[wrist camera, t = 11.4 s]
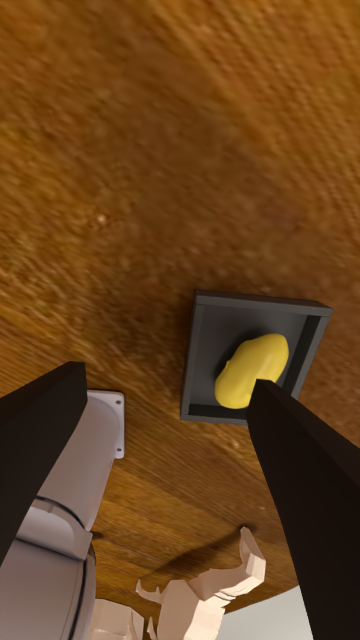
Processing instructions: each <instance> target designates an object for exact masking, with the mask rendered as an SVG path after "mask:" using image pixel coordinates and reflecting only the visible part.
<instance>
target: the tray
mask: <svg viewBox="0 0 360 640" xmlns="http://www.w3.org/2000/svg"><path fill="white" fill-rule="evenodd" d="M332 311H333V308H331V307H328V306H326V305H324V304H321V303H319V302H317V301H307V300H297V299H287V298H277V297H268V296H258V295H248V294H238V293H228V292H218V291H208V290H198V289H195V292H194V300H193V307H192V315H191V323H190V331H189V338H188V346H187V354H186V362H185V369H184V377H183V385H182V392H181V400H180V420H185V421H198V422H211V423H224V424H237V425H248V424H247V420H246V411H247V408H248V406H246V407H243V408H238V409H234V408H227V407H224V406H222V405H220V403H219V402H218V401H217V400H216V397H215V393H214V388H215V382H216V379H217V377H218V376H219V374H220V373H221V372H222V370H223V369H224V368H225V366H226V363H227V361H229V360H230V359H231V358H232V356H233V355H234V353H235V351H236V350H237V348H238V347H239V346H240V345H241V344H242V343H243V342H245V341H248V340H254V339H256V338H259V337H261V336H263V335H266V334H272V333H275V334H280V335H283V336H284V337H285V339H286V341H287V345H288V351H289V355H288V359H287V362H286V365H285V367H284V370H283V371H282V373H281V375H280V376H279V378H278V379H277V381H276V382H275V383H276V384H277V385H278V386H280V387H281V388H282V389H284V390H285V391H286V392H287V393H289V394H290V395H291V396H292V397H294V398H295V399H296V400H297V398H298V395H299V393H300V390H301V388H302V385H303V383H304V380H305V378H306V376H307V373H308V371H309V368H310V366H311V363H312V361H313V358H314V356H315V353H316V351H317V348H318V346H319V343H320V341H321V338H322V336H323V333H324V331H325V328H326V326H327V323H328V321H329V319H330V316H331V313H332Z"/></svg>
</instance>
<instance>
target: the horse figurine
mask: <svg viewBox="0 0 360 640" xmlns="http://www.w3.org/2000/svg"><path fill="white" fill-rule="evenodd" d="M239 548H240V556H241V559H242V562H243V564H242V565H241V566H240V567H237V568H235V569H225V570H218V569H210V568H209V569H210V570H209V571H206V572H204V573H201V574H198V575H199V576H198V577H196V578H194V579H191V580H189V581H185V580H171V581H170V582H169V584H168V585H167V587H166V588H165V590H164V591H163V593H162V594H160V589H159V586H158V585H157V589H156V592H150V593H149V592H146V591H144V590H143V589H142V588H141V579H138V583H137V587H136V591H135V592H138V593H139V595H140V596H141V597H143V598H146V599H148V600H150V601H155V602H157V603H159V604H162V608H161V613H160V618H159V623H158V628H157V637H158V640H215V638H216V636H217V634H218V632H219V629H220V625H221V621H222V617H223V614H224V611H225V608H224V607H223V606H225V605H226V604H228V603H230V600H232V599H235V598H236V597H235V596H237V595H241V594H245V593H248V592H249V591H251V590H252V589H253V588H254V587H256V586H257V585H259V584H260V583H262V582H263V581H264V574H265V563H266V560H265V559H264V557H263V555H262V553H261V552H260V550H259V548H258V546H257V544H256V542H255V540H254V538H253V536H252V534H251V532H250V530H249V529H248V528H246V527H244V526H243V528H242V529H241V540H240V543H239ZM127 626H129V629H130V633H131V634H132V638H133V640H138V638H137V635H136V631H135V628H134V624H133V611H131V612H130V616H129V620H128V624H127ZM147 632H149V633H150V638H151V639H152V640H157V638H156V635H155V633H154V629H153V624H152V617H150V621H149V625H148V630H147Z"/></svg>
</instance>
